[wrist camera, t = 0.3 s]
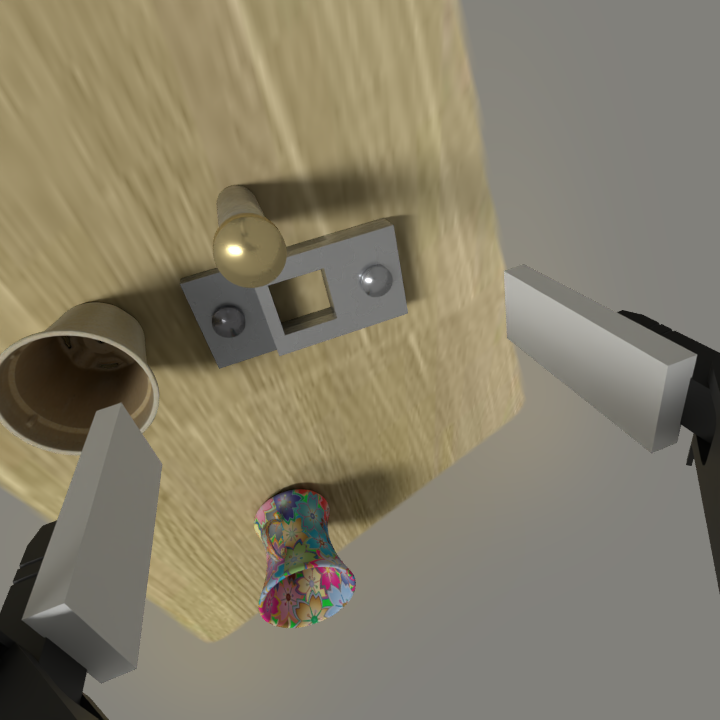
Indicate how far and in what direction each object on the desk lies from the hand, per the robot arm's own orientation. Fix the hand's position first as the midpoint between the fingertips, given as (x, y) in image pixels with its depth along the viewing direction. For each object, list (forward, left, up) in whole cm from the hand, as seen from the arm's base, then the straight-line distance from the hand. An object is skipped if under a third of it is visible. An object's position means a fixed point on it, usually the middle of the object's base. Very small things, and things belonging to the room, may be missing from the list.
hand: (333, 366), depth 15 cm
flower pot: (+6, -15, -24) cm, 29 cm away
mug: (+31, -8, -24) cm, 40 cm away
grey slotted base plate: (+7, +1, -23) cm, 24 cm away
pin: (-1, -2, -23) cm, 23 cm away
